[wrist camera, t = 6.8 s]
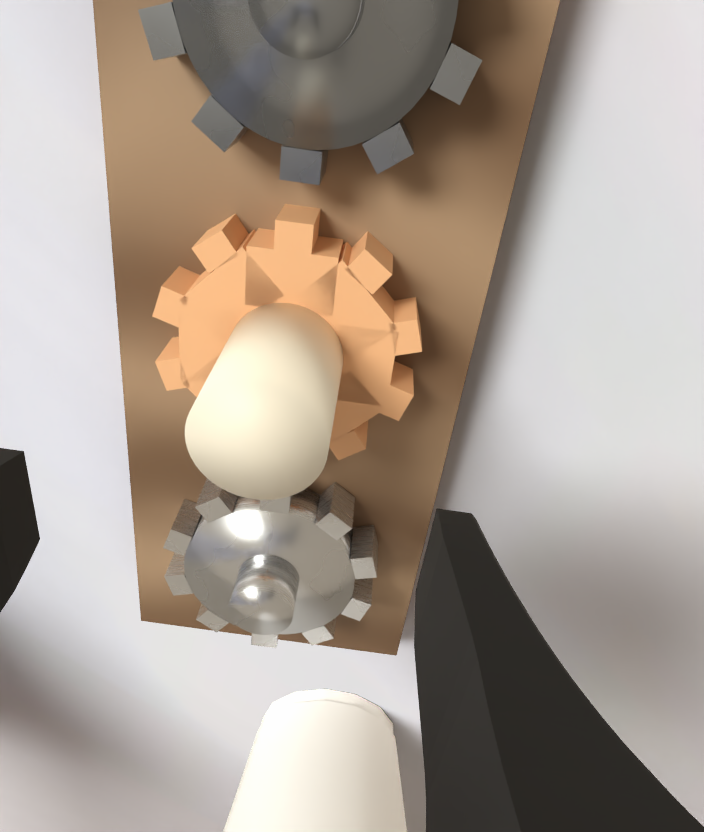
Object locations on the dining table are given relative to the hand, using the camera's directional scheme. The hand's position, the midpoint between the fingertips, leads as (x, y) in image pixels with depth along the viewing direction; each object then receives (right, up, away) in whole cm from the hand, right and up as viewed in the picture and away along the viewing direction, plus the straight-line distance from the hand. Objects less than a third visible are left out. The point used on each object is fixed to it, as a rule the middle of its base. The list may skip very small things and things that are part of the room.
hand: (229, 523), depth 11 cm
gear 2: (-1, -3, +11) cm, 11 cm away
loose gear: (0, +4, +7) cm, 8 cm away
